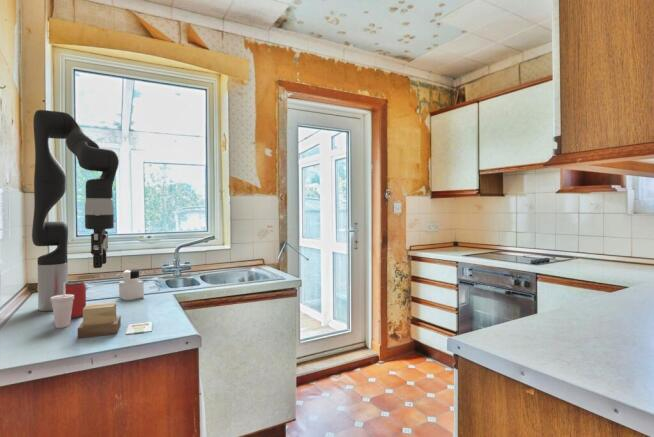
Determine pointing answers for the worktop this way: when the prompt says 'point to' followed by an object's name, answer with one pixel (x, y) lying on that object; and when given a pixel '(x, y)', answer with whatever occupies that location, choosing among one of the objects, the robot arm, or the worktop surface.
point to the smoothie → (62, 308)
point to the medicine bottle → (131, 286)
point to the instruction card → (139, 328)
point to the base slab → (99, 329)
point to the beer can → (77, 297)
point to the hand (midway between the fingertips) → (100, 265)
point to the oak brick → (99, 313)
